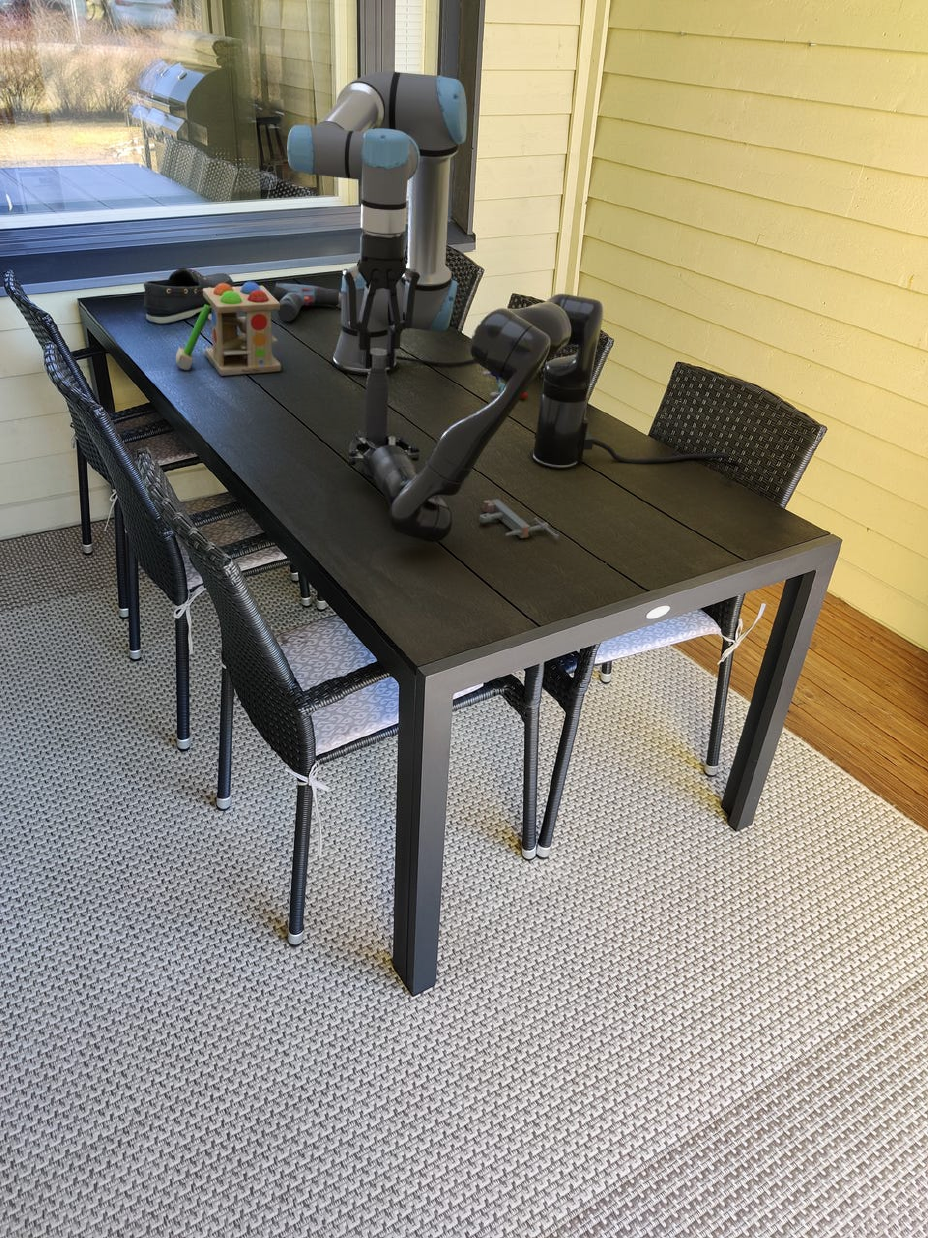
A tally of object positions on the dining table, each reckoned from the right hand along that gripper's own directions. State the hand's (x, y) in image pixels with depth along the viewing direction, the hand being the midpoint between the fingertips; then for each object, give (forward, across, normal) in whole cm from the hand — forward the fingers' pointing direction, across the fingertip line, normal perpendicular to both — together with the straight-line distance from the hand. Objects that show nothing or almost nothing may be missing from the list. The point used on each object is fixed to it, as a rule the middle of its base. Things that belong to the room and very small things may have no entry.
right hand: (371, 434), depth 189 cm
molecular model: (+30, -39, +7) cm, 49 cm away
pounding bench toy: (+57, +21, +7) cm, 61 cm away
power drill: (+95, -5, +7) cm, 95 cm away
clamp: (-29, -19, +7) cm, 35 cm away
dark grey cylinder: (-3, 0, +7) cm, 7 cm away
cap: (-3, 0, -17) cm, 17 cm away
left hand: (-3, 0, -15) cm, 15 cm away
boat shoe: (+101, +24, +7) cm, 104 cm away
